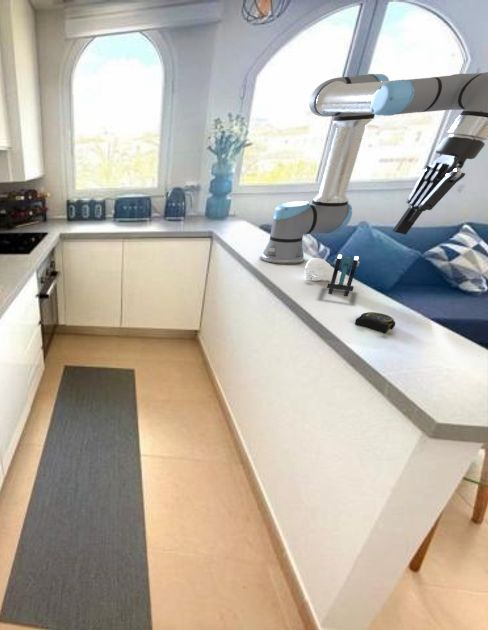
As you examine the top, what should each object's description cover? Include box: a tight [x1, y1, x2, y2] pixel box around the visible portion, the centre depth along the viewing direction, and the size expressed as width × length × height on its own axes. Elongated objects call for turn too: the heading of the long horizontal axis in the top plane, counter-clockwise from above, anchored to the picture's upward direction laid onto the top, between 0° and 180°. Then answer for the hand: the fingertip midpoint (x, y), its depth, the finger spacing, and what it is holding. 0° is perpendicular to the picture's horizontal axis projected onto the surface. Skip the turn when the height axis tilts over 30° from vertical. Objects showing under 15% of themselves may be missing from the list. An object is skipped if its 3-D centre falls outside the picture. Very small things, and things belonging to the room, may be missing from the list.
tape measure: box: [354, 311, 396, 334], centre depth 88 cm, size 7×7×4 cm
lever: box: [326, 256, 355, 292], centre depth 102 cm, size 13×6×2 cm, turn 141°
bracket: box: [327, 254, 361, 297], centre depth 107 cm, size 11×8×13 cm
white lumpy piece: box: [304, 257, 346, 284], centre depth 118 cm, size 6×8×12 cm
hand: (399, 232), depth 95 cm, fingers closed
